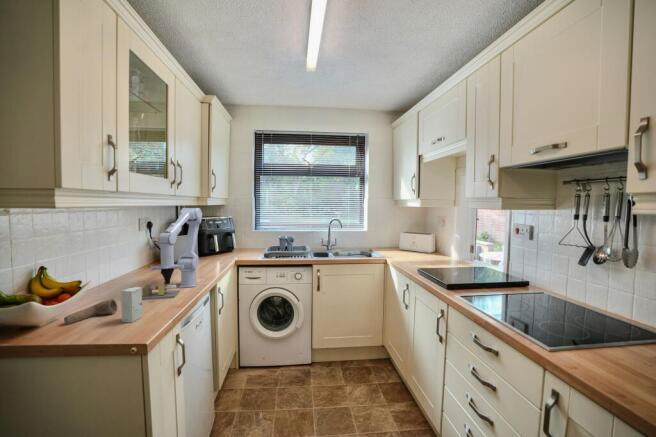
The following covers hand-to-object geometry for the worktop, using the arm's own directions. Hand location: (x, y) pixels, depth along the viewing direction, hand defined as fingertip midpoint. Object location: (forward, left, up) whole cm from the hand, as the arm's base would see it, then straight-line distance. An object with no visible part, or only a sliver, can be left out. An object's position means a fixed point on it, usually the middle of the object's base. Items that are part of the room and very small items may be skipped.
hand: (167, 283), depth 144 cm
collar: (0, -2, -5) cm, 5 cm away
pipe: (+25, -21, -6) cm, 33 cm away
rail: (0, -3, -6) cm, 7 cm away
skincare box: (+31, -5, -6) cm, 32 cm away
